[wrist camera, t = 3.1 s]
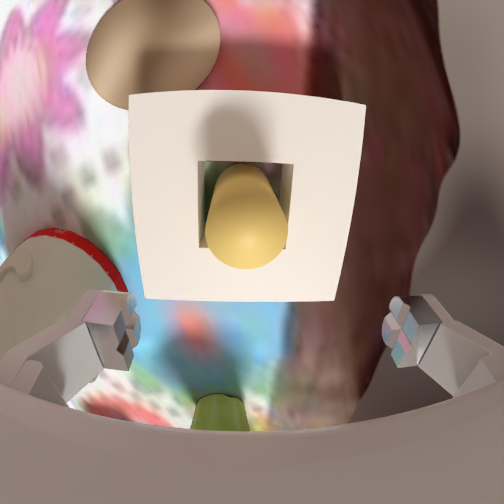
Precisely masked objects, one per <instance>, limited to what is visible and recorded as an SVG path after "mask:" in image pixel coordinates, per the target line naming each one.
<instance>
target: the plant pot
mask: <svg viewBox="0 0 504 504" xmlns="http://www.w3.org/2000/svg"><path fill="white" fill-rule="evenodd" d="M190 429H195V430H211V431H250V429H249V425H248V420H247V416H246V411H245V406H244V404H243V402H242V401H241V400H239V399H238V398H236V397H233V398H232V397H228V396H226V395H224V394H213V395H208V396H205V397H203V398H201V399H200V400H199V402H198V403H197V405H196V409H195V413H194V417H193V421H192V425H191V428H190Z"/></svg>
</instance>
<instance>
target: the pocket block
mask: <svg viewBox="0 0 504 504" xmlns="http://www.w3.org/2000/svg"><path fill="white" fill-rule="evenodd" d="M365 111H366V105H362V104H357V103H352V102H346V101H340V100H334V99H328V98H321V97H314V96H306V95H298V94H288V93H277V92H264V91H245V90H185V91H166V92H153V93H142V94H132V95H129V159H130V178H131V192H132V204H133V215H134V224H135V233H136V241H137V249H138V256H139V263H140V270H141V276H142V282H143V288H144V294H145V299H166V300H192V301H240V302H291V301H334V298H335V294H336V290H337V286H338V281H339V277H340V273H341V268H342V263H343V259H344V254H345V249H346V244H347V239H348V234H349V228H350V223H351V217H352V212H353V206H354V200H355V193H356V187H357V180H358V173H359V166H360V158H361V150H362V141H363V132H364V122H365ZM204 161H245V162H269V163H282V176H281V189H280V201H279V204H280V206H281V208H282V211H283V213H284V215H285V217H286V220H287V224H288V236H287V241H286V244H285V246H284V248H283V250H282V251H281V253H280V254H279V255H278V256H277V257H276V258H275V259H274V260H272V261H271V262H270V263H268V264H266V265H264V266H261V267H258V268H254V269H238V268H234V267H230V266H228V265H226V264H224V263H222V262H221V261H220V260H218V259H217V258H216V257H215V256H214V255H213V253H212V252H211V251H210V249H209V247H208V244H207V242H206V237H205V226H206V225H204Z"/></svg>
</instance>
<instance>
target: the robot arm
mask: <svg viewBox="0 0 504 504" xmlns="http://www.w3.org/2000/svg"><path fill="white" fill-rule="evenodd" d="M136 305H137V304H136V300H135V296H134V295H133V294H132V293H128V292H117V291H107V290H96V289H89V290H87V291H86V292H85V294H84V295H83V297H82V298H81V299H80V301H79V302H78V304H77V305H76V307H75V308H74V310H73V311H72V313H71V314H70V316H69V317H68V319H67V320H64V319H62V320H61V321H59V322H57V323H55V324H53V325H52V326H50V327H48V328H46V329H44V330H43V331H41V332H39V333H37V334H35V335H34V336H32V337H30V338H28V339H27V340H25V341H23V342H21V343H20V344H18V345H16V346H14V347H13V348H11V349H9V350H8V351H6V353H5V354H4V356H3V357H2V359H1V360H0V504H504V347H503V346H501V345H500V344H498V343H496V342H494V341H493V340H491V339H489V338H487V337H486V336H484V335H482V334H480V333H478V332H477V331H475V330H473V329H471V328H469V327H468V326H465V325H464V324H462V323H460V322H459V321H454V320H453V319H452V318H451V316H450V315H449V314H448V313H447V311H446V310H445V309H444V308H443V307H442V305H441V304H440V303H439V302H438V300H437V299H436V298H435V297H434V296H433V295H431V294H423V295H416V296H399V297H394V298H393V299H392V300H391V303H390V305H389V309H390V311H391V312H390V313H389V314H388V315H387V316H386V317H385V319H384V322H383V325H382V336H383V340H384V342H385V344H386V345H387V346H389V347H390V348H392V351H391V355H392V357H393V359H394V361H395V363H396V365H397V367H398V368H402V367H409V366H415V365H418V367H420V368H421V369H422V370H423V371H424V372H426V373H427V374H428V375H429V376H430V377H432V378H433V379H434V380H435V381H436V382H437V383H439V384H440V385H441V386H442V387H443V388H444V389H446V390H447V391H448V392H449V393H450V394H451V395H453V396H454V397H453V398H452V399H450V400H446V401H443V402H440V403H437V404H434V405H430V406H427V407H423V408H420V409H416V410H412V411H408V412H404V413H400V414H396V415H391V416H387V417H382V418H377V419H372V420H367V421H361V422H355V423H349V424H342V425H335V426H327V427H319V428H309V429H297V430H282V431H211V430H195V429H183V428H173V427H164V426H157V425H149V424H143V423H137V422H131V421H125V420H120V419H115V418H110V417H105V416H100V415H96V414H92V413H88V412H84V411H80V410H76V409H72V408H69V406H68V405H67V402H68V401H69V400H70V399H71V398H72V397H73V396H75V395H76V394H77V393H78V392H79V391H80V390H81V389H82V388H83V387H85V386H86V385H87V384H88V383H89V382H90V381H91V380H92V379H93V378H95V377H96V376H97V375H98V374H99V373H100V372H101V371H102V370H103V368H107V369H115V370H123V371H129V368H130V365H131V362H132V360H133V357H134V354H133V350H132V349H133V348H134V347H135V346H137V345H138V342H139V339H140V332H141V324H140V318H139V315H138V314H137V313H136V312H135V311H134V309H135V307H136Z"/></svg>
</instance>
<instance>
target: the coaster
mask: <svg viewBox="0 0 504 504" xmlns="http://www.w3.org/2000/svg"><path fill="white" fill-rule="evenodd" d="M220 43H221V35H220V29H219V24H218V21H217V18H216V16H215V14H214V12H213V10H212V9H211V8H210V7H209V5H208V4H207V3H206V2H205V1H204V0H122V1H121V2H119V3H118V4H116V5H115V6H114V7H113V8H112V9H110V10H109V11H108V12H107V13H106V14H105V16H104V17H103V18H102V19H101V20H100V22H99V23H98V25H97V26H96V28H95V30H94V31H93V33H92V36H91V38H90V40H89V44H88V47H87V53H86V69H87V74H88V77H89V80H90V82H91V84H92V86H93V88H94V89H95V91H96V92H97V93H98V94H99V95H100V96H101V97H102V98H103V99H104V100H105V101H107V102H108V103H110V104H112V105H114V106H116V107H119V108H122V109H126V110H129V95H132V94H142V93H153V92H166V91H185V90H196V89H197V88H198V87H199V86H200V85H201V84H202V83H203V82H204V80H205V79H206V78H207V76H208V75H209V74H210V72H211V70H212V69H213V67H214V65H215V62H216V60H217V57H218V54H219V50H220Z"/></svg>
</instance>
